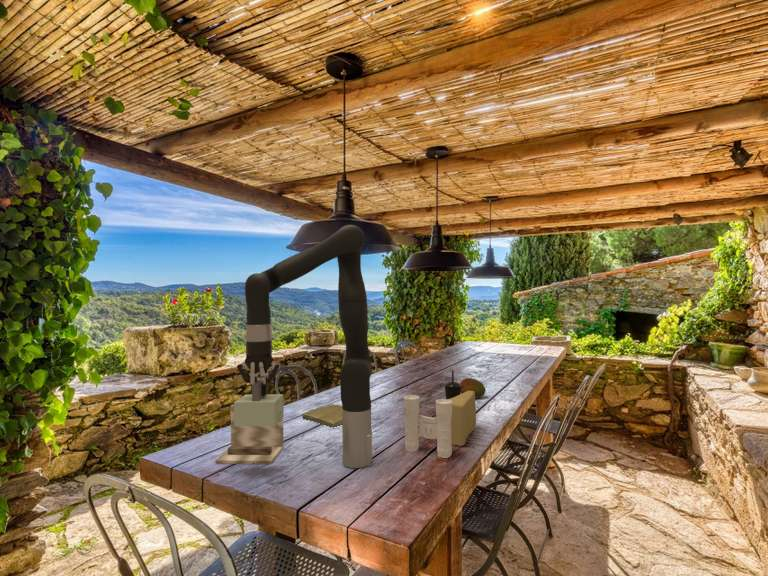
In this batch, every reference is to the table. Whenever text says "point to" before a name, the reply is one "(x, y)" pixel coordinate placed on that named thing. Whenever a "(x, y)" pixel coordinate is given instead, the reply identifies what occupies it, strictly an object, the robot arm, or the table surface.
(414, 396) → the binoculars
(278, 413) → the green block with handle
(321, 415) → the decorative tile
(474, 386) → the fruit
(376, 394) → the table surface
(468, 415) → the cheese
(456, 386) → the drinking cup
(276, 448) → the wooden stand
